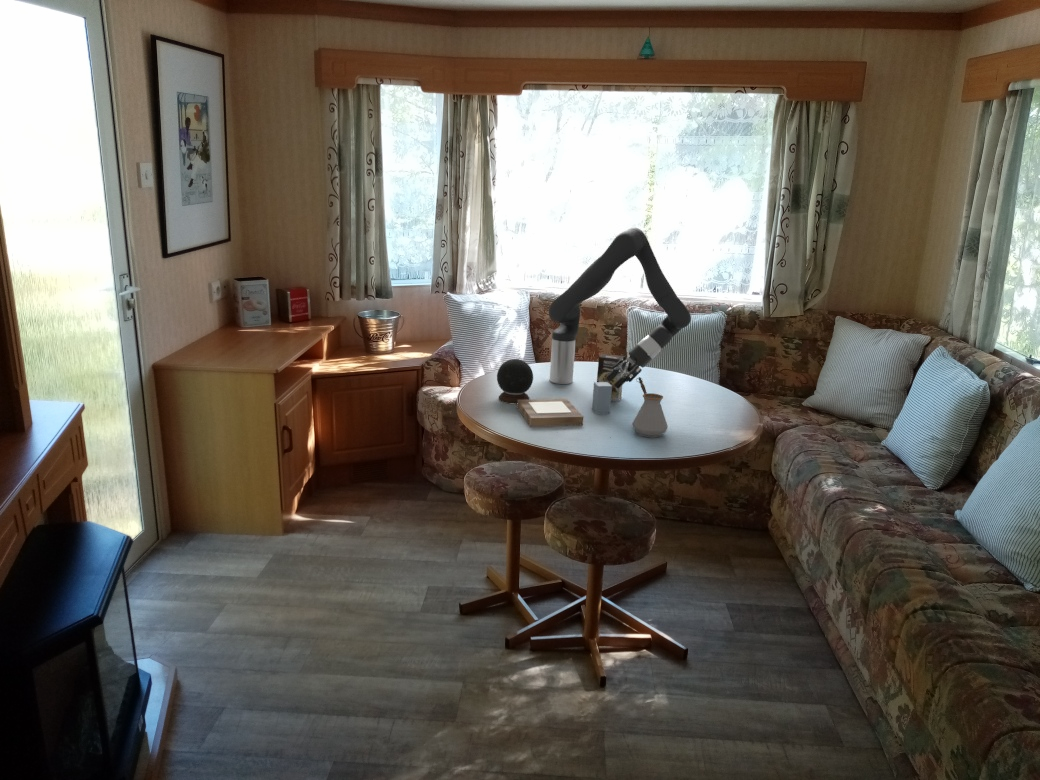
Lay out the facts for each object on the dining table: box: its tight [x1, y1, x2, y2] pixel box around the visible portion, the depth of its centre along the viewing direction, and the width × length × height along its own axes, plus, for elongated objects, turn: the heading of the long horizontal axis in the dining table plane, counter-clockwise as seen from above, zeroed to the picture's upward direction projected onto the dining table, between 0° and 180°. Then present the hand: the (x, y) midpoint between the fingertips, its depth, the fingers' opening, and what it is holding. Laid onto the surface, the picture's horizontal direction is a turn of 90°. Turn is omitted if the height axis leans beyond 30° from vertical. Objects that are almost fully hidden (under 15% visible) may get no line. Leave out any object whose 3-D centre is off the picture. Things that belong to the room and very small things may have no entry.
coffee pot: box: [631, 376, 668, 438], centre depth 257 cm, size 21×12×15 cm, turn 9°
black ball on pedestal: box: [496, 358, 534, 404], centre depth 281 cm, size 13×13×15 cm
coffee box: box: [596, 353, 624, 402], centre depth 288 cm, size 9×6×16 cm
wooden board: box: [516, 398, 584, 427], centre depth 266 cm, size 20×18×3 cm
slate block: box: [591, 381, 612, 415], centre depth 273 cm, size 5×5×10 cm
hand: (611, 383), depth 272 cm, fingers open, 8 cm apart
